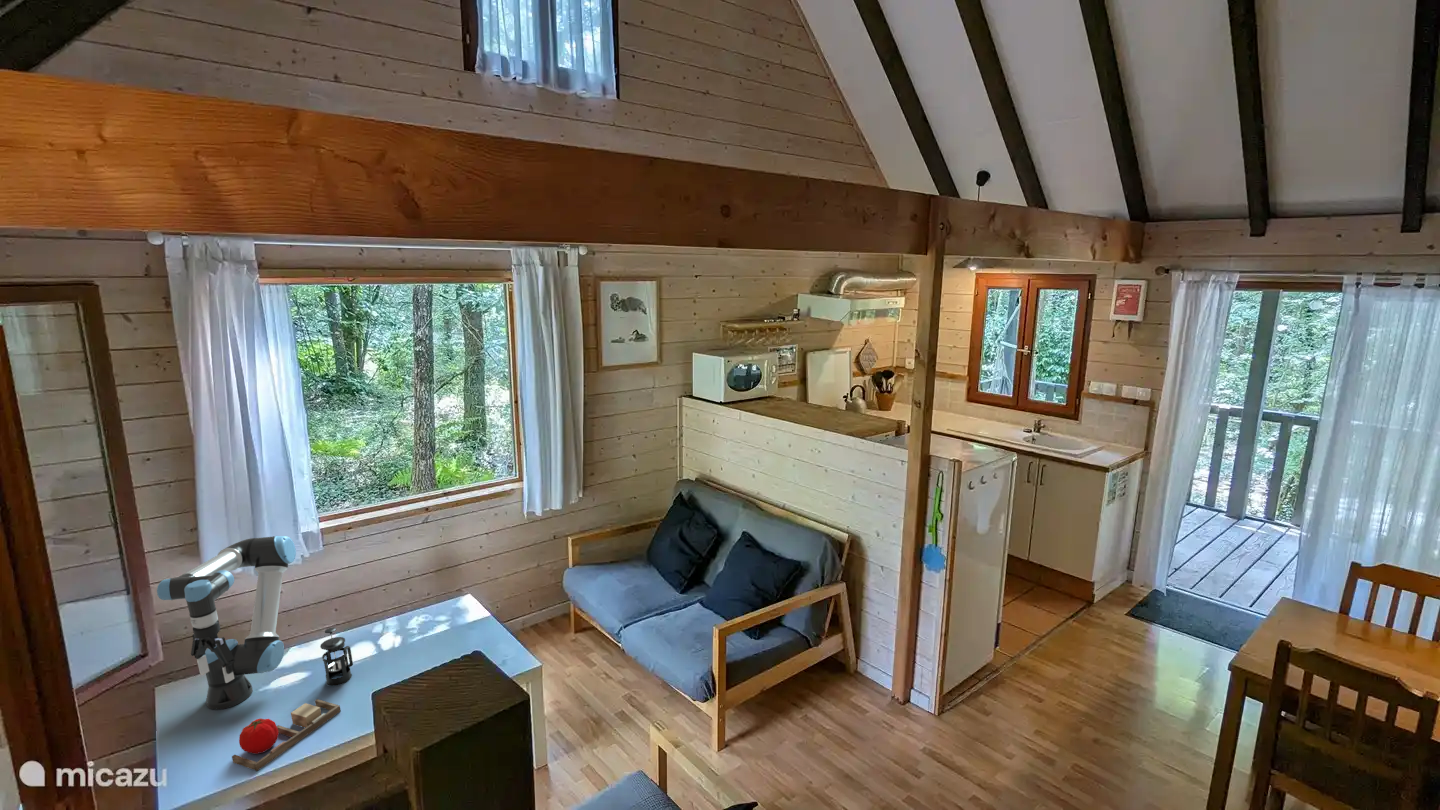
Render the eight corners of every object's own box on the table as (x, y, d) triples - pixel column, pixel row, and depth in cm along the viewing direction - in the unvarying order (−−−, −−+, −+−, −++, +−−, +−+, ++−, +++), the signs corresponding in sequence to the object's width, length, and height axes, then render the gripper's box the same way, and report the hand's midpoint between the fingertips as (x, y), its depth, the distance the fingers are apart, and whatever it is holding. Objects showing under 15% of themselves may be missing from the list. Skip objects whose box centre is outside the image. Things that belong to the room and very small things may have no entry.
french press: (334, 689, 277) (325, 638, 272) (319, 684, 281) (310, 633, 276) (360, 673, 287) (352, 623, 282) (345, 668, 291) (337, 619, 286)
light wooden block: (292, 724, 257) (290, 712, 255) (307, 714, 262) (305, 703, 261) (308, 729, 254) (305, 717, 253) (322, 719, 259) (320, 707, 258)
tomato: (284, 748, 243) (278, 721, 241) (246, 765, 236) (239, 737, 233) (276, 733, 252) (270, 706, 249) (239, 749, 244) (233, 721, 242)
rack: (233, 762, 237) (231, 754, 237) (318, 704, 267) (316, 697, 267) (257, 771, 233) (255, 763, 232) (340, 711, 263) (339, 704, 262)
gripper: (171, 623, 242) (183, 676, 246) (218, 635, 233) (229, 690, 237) (193, 612, 249) (205, 664, 253) (240, 624, 240) (251, 677, 244)
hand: (217, 677), depth 245 cm, fingers open, 13 cm apart
